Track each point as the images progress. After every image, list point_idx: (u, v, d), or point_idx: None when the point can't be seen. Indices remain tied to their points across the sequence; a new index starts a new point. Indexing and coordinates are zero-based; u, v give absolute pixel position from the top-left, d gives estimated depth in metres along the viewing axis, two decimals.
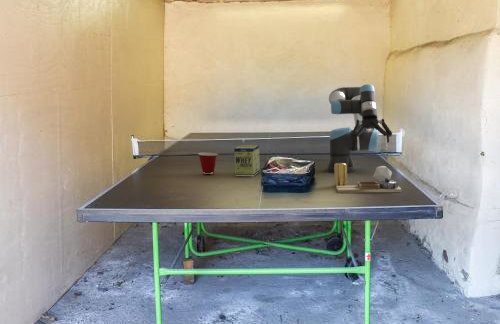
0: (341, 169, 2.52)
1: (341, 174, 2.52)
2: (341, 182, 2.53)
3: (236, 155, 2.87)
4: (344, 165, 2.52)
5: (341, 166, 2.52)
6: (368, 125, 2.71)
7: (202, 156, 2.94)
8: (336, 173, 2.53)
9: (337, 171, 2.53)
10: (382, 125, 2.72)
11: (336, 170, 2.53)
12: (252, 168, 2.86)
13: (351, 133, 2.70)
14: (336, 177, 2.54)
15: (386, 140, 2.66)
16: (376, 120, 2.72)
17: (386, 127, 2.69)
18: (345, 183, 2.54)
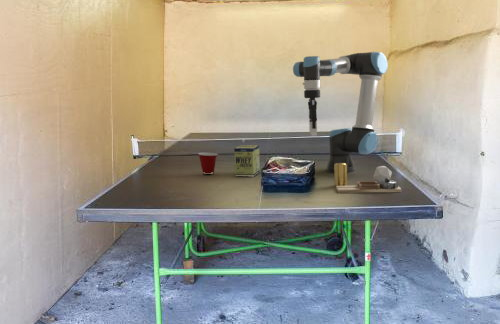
0: (341, 169, 2.52)
1: (341, 174, 2.52)
2: (341, 182, 2.53)
3: (236, 155, 2.87)
4: (344, 165, 2.52)
5: (341, 166, 2.52)
6: None
7: (202, 156, 2.94)
8: (336, 173, 2.53)
9: (337, 171, 2.53)
10: None
11: (336, 170, 2.53)
12: (252, 168, 2.86)
13: None
14: (336, 177, 2.54)
15: (310, 127, 2.51)
16: (310, 101, 2.53)
17: (311, 111, 2.49)
18: (345, 183, 2.54)
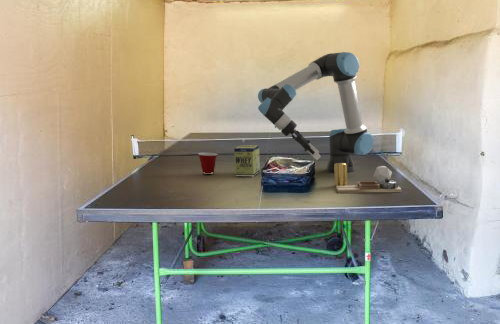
0: (341, 169, 2.52)
1: (341, 174, 2.52)
2: (341, 182, 2.53)
3: (236, 155, 2.87)
4: (344, 165, 2.52)
5: (341, 166, 2.52)
6: None
7: (202, 156, 2.94)
8: (336, 173, 2.53)
9: (337, 171, 2.53)
10: None
11: (336, 170, 2.53)
12: (252, 168, 2.86)
13: None
14: (336, 177, 2.54)
15: (311, 154, 2.48)
16: None
17: None
18: (345, 183, 2.54)
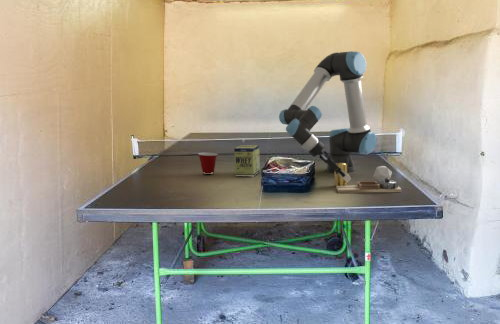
0: None
1: None
2: (341, 182, 2.53)
3: (236, 155, 2.87)
4: (344, 165, 2.52)
5: (341, 166, 2.52)
6: None
7: (202, 156, 2.94)
8: None
9: None
10: None
11: None
12: (252, 168, 2.86)
13: None
14: (336, 177, 2.54)
15: None
16: (320, 156, 2.51)
17: (330, 166, 2.49)
18: (345, 183, 2.54)
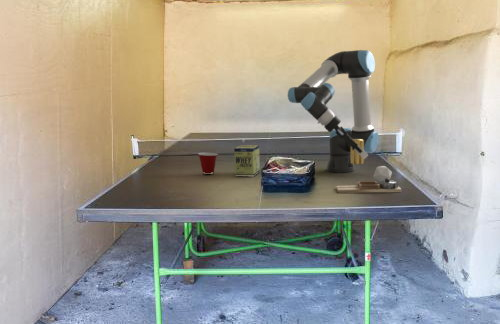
0: None
1: None
2: (357, 159, 2.43)
3: (236, 155, 2.87)
4: (361, 141, 2.42)
5: (358, 142, 2.42)
6: None
7: (202, 156, 2.94)
8: None
9: None
10: None
11: None
12: (252, 168, 2.86)
13: None
14: (352, 153, 2.44)
15: (358, 153, 2.42)
16: (336, 131, 2.42)
17: (346, 141, 2.40)
18: (361, 160, 2.44)
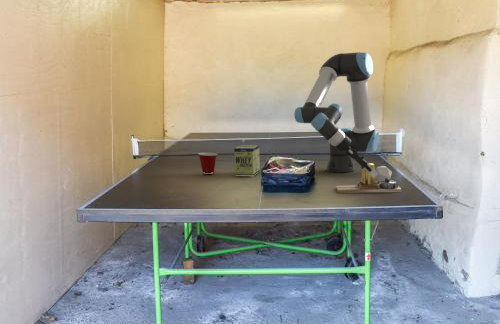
0: None
1: (369, 175, 2.42)
2: (369, 183, 2.42)
3: (236, 155, 2.87)
4: (372, 165, 2.42)
5: None
6: None
7: (202, 156, 2.94)
8: (363, 174, 2.43)
9: (364, 171, 2.42)
10: None
11: (363, 170, 2.43)
12: (252, 168, 2.86)
13: None
14: (363, 178, 2.43)
15: None
16: (347, 152, 2.41)
17: (356, 160, 2.37)
18: (373, 184, 2.43)
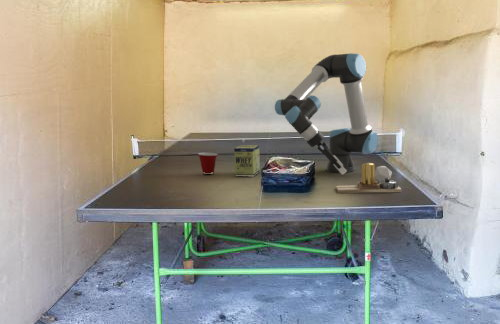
0: (369, 169, 2.42)
1: (369, 175, 2.42)
2: (369, 183, 2.42)
3: (236, 155, 2.87)
4: (372, 165, 2.42)
5: (369, 166, 2.41)
6: None
7: (202, 156, 2.94)
8: (363, 174, 2.43)
9: (364, 171, 2.42)
10: None
11: (363, 170, 2.43)
12: (252, 168, 2.86)
13: None
14: (363, 178, 2.43)
15: (336, 168, 2.39)
16: (319, 147, 2.42)
17: (326, 156, 2.38)
18: (373, 184, 2.43)
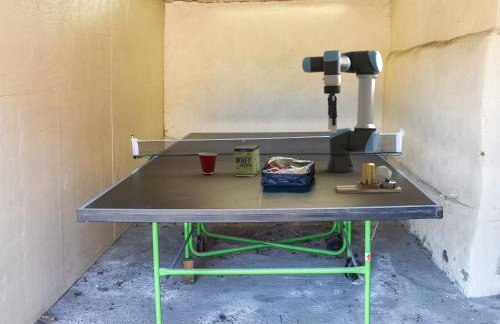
0: (369, 170, 2.41)
1: (369, 175, 2.42)
2: (369, 183, 2.42)
3: (236, 155, 2.87)
4: (372, 165, 2.42)
5: (369, 166, 2.41)
6: None
7: (202, 156, 2.94)
8: (364, 174, 2.43)
9: (365, 172, 2.42)
10: None
11: (364, 171, 2.43)
12: (252, 168, 2.86)
13: None
14: (364, 178, 2.43)
15: (330, 124, 2.42)
16: (330, 97, 2.44)
17: (331, 107, 2.40)
18: (373, 184, 2.43)
